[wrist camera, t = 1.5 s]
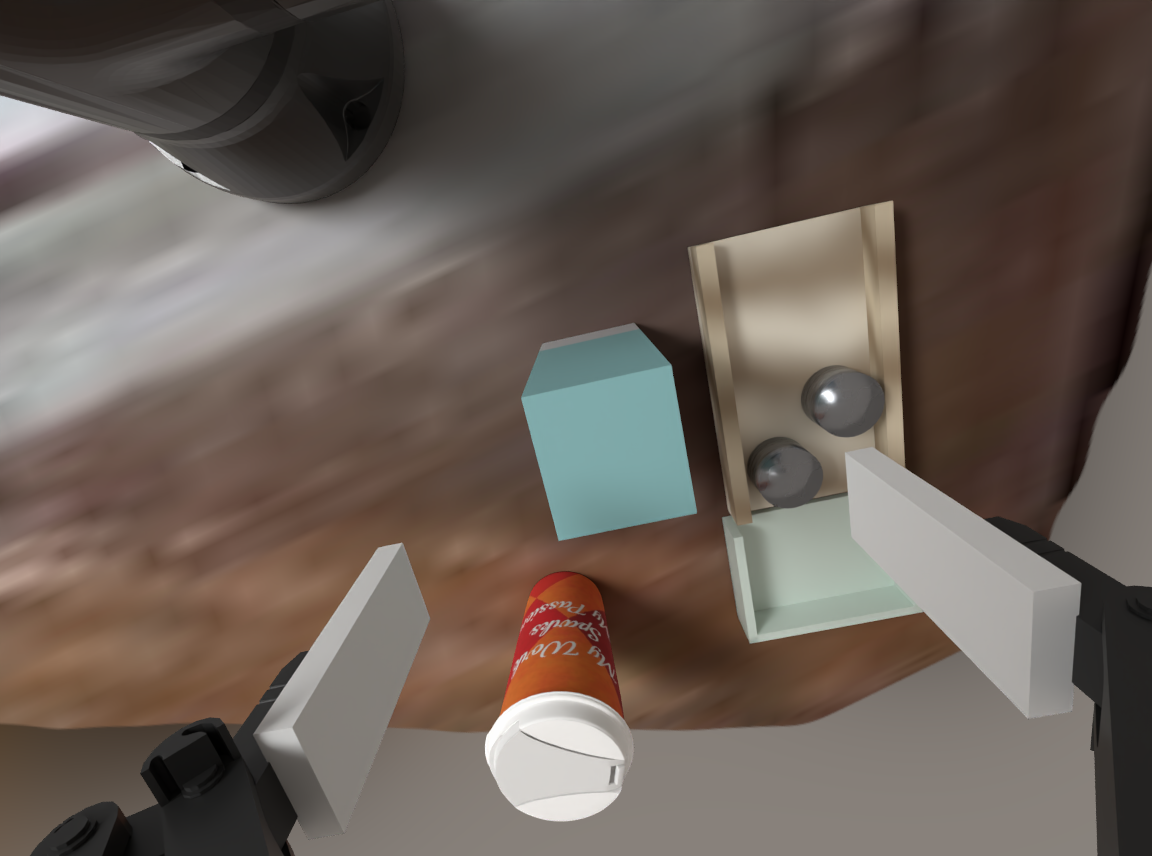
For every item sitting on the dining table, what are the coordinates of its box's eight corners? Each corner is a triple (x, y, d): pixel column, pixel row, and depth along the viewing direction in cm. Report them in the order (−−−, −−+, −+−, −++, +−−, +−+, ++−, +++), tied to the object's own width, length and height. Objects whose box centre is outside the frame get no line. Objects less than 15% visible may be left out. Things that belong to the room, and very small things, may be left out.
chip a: (797, 372, 34) (814, 381, 32) (861, 358, 34) (882, 366, 32) (804, 431, 36) (820, 443, 33) (865, 418, 35) (886, 429, 33)
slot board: (687, 247, 33) (695, 246, 31) (870, 204, 32) (893, 200, 30) (728, 509, 38) (737, 525, 36) (886, 477, 37) (906, 492, 35)
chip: (743, 443, 36) (755, 456, 33) (804, 431, 36) (820, 443, 33) (750, 497, 37) (763, 514, 35) (809, 485, 37) (825, 501, 34)
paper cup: (622, 562, 39) (645, 717, 26) (611, 649, 42) (627, 833, 28) (514, 554, 39) (483, 707, 26) (509, 642, 42) (478, 824, 28)
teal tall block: (542, 343, 35) (521, 397, 21) (634, 322, 34) (671, 364, 21) (565, 437, 37) (558, 540, 23) (652, 418, 36) (696, 513, 23)
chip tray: (721, 517, 38) (733, 538, 36) (893, 483, 38) (919, 501, 35) (737, 616, 41) (749, 643, 38) (899, 586, 40) (923, 611, 37)
